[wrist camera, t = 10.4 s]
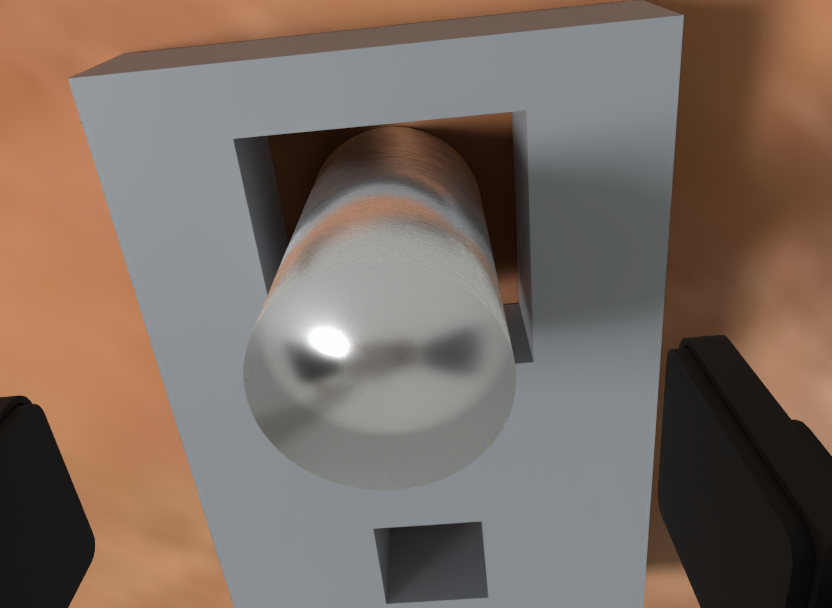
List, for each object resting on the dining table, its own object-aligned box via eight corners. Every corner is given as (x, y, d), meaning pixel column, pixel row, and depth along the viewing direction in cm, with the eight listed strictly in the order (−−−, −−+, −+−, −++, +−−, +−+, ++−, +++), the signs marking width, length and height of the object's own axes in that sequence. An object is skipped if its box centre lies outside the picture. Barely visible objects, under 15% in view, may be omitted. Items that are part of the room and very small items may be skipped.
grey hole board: (617, 567, 25) (640, 645, 22) (270, 589, 25) (253, 667, 23) (641, -1, 16) (684, 15, 14) (123, 53, 17) (68, 78, 14)
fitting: (486, 279, 20) (520, 481, 13) (326, 293, 20) (271, 498, 13) (476, 117, 18) (511, 249, 11) (297, 135, 18) (215, 275, 11)
